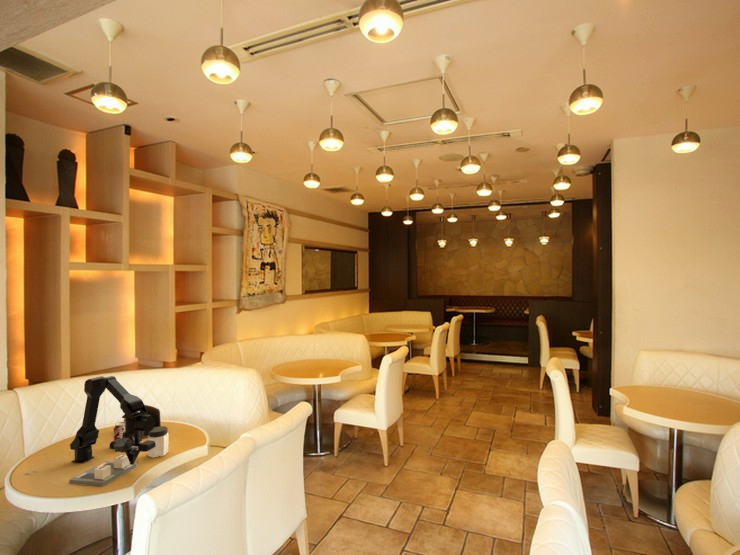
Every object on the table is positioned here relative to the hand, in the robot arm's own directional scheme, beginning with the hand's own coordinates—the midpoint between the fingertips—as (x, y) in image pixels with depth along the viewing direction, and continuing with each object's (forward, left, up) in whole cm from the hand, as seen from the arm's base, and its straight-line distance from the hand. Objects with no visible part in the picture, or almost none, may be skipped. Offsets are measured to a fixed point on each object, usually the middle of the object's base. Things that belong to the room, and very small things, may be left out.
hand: (132, 464), depth 176 cm
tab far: (-5, 0, -1) cm, 6 cm away
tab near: (-5, -10, -1) cm, 11 cm away
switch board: (-9, -5, -3) cm, 11 cm away
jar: (-1, +18, -3) cm, 18 cm away
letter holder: (-30, +42, -3) cm, 52 cm away
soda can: (-25, +22, -3) cm, 34 cm away
